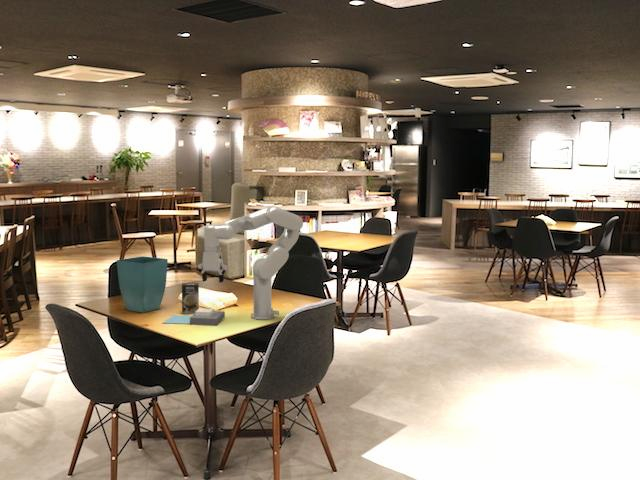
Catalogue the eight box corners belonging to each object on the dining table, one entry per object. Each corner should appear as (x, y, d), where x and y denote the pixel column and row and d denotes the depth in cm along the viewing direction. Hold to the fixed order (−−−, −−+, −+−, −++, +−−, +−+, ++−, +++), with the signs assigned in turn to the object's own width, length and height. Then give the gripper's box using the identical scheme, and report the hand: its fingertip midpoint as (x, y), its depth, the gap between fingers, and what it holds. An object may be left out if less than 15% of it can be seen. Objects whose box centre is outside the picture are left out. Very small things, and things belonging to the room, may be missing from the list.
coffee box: (181, 314, 343) (181, 285, 341) (182, 311, 350) (181, 282, 348) (199, 313, 345) (198, 284, 343) (198, 310, 351) (198, 282, 349)
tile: (214, 313, 332) (214, 308, 332) (210, 316, 325) (210, 312, 325) (199, 312, 333) (199, 308, 333) (195, 315, 326) (195, 311, 326)
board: (224, 317, 337) (224, 311, 336) (216, 325, 321) (216, 318, 320) (199, 316, 338) (199, 310, 338) (189, 324, 322) (189, 317, 322)
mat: (198, 316, 338) (198, 316, 338) (189, 324, 322) (189, 323, 322) (172, 315, 340) (172, 315, 340) (162, 323, 324) (162, 322, 324)
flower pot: (144, 303, 367) (142, 255, 363) (169, 308, 357) (168, 258, 353) (117, 310, 350) (115, 260, 346) (142, 315, 340) (141, 263, 336)
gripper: (230, 248, 328) (231, 281, 330) (201, 247, 334) (202, 279, 336) (223, 250, 321) (224, 284, 323) (193, 249, 326) (194, 282, 329)
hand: (213, 281), depth 329 cm, fingers open, 9 cm apart
